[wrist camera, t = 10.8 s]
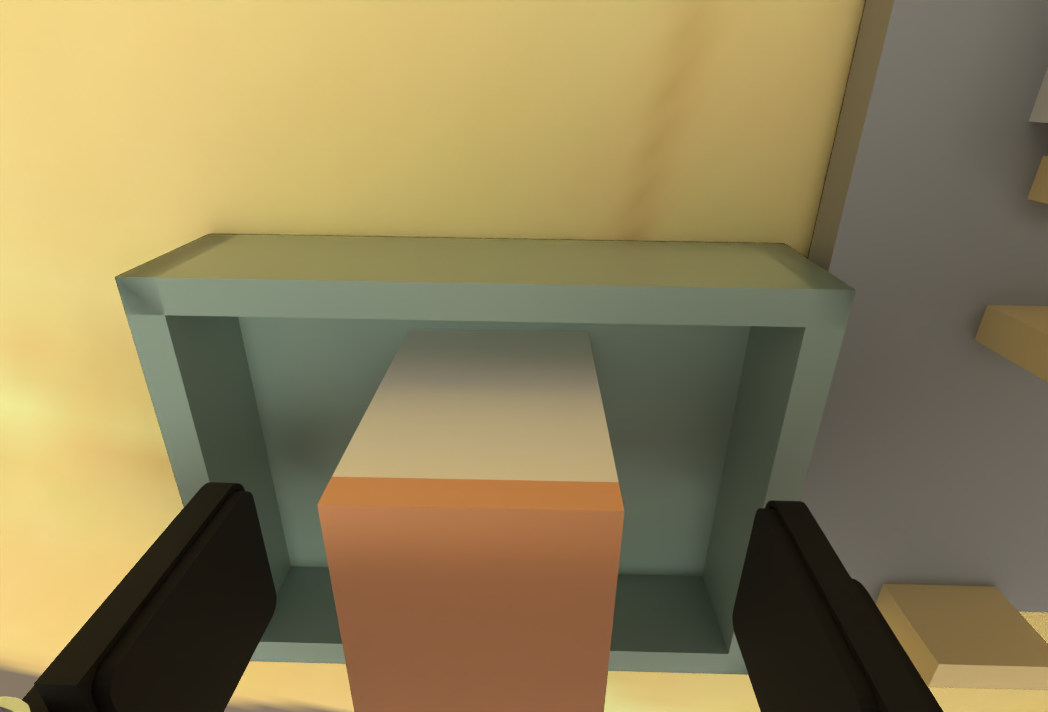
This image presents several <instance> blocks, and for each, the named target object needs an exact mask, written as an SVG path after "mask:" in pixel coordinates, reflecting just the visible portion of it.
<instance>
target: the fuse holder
mask: <svg viewBox="0 0 1048 712" xmlns="http://www.w3.org/2000/svg"><path fill="white" fill-rule="evenodd" d="M808 259H809V260H810V261H812V262H814V263H815V264H817V265H818V266H820V267H821V268H823V269H824V270H826V271H827V272H829V273H831V274H832V275H834V276H835V277H837V278H838V279H840V280H841V281H843V282H844V283H846V284H847V285H849V286H851V287H852V288H854V289H855V290H856V292H855V296H854V299H853V303H852V307H851V311H850V314H849V318H848V322H847V326H846V329H845V333H844V337H843V340H842V344H841V348H840V352H839V355H838V359H837V363H836V367H835V370H834V374H833V378H832V381H831V385H830V389H829V393H828V396H827V400H826V404H825V408H824V411H823V415H822V419H821V423H820V426H819V430H818V434H817V437H816V441H815V445H814V449H813V452H812V456H811V460H810V464H809V467H808V471H807V475H806V478H805V482H804V486H803V490H802V493H801V497H800V501H801V502H804V503H805V504H806V505H807V507H808V508H809V510H810V512H811V513H812V515H813V516H814V518H815V520H816V521H817V523H818V525H819V526H820V528H821V529H822V531H823V533H824V534H825V536H826V538H827V539H828V541H829V543H830V544H831V546H832V547H833V549H834V551H835V552H836V554H837V556H838V557H839V559H840V560H841V562H842V564H843V565H844V567H845V569H846V570H847V572H848V574H849V575H850V577H851V578H852V579H856V580H857V581H859V582H860V583H861V584H862V585H863V586H864V587H865V589H866V590H867V591H868V593H869V594H870V596H871V597H872V599H873V601H874V602H875V604H876V605H877V607H878V609H879V610H880V612H881V613H882V615H883V617H884V618H885V620H886V621H887V623H888V624H889V626H890V628H891V629H892V631H893V632H894V634H895V636H896V637H897V639H898V640H899V642H900V644H901V645H902V647H903V648H904V650H905V651H906V653H907V655H908V656H909V658H910V659H911V661H912V663H913V664H914V666H915V667H916V669H917V670H918V672H919V673H920V675H921V676H922V678H923V680H924V681H925V683H926V684H927V686H928V687H949V688H986V689H1024V690H1048V644H1047V643H1046V642H1045V640H1044V639H1043V638H1042V637H1041V636H1040V635H1039V634H1038V633H1037V632H1036V631H1035V629H1034V628H1033V627H1032V626H1031V625H1030V624H1029V623H1028V622H1027V621H1026V620H1025V619H1024V617H1023V616H1022V615H1021V614H1020V613H1019V612H1018V611H1025V612H1048V0H866V3H865V8H864V12H863V17H862V21H861V25H860V30H859V34H858V39H857V43H856V48H855V52H854V56H853V61H852V65H851V70H850V74H849V79H848V83H847V87H846V92H845V96H844V101H843V105H842V110H841V114H840V119H839V123H838V127H837V132H836V136H835V141H834V145H833V150H832V154H831V158H830V163H829V167H828V172H827V176H826V181H825V185H824V189H823V194H822V198H821V203H820V207H819V212H818V216H817V220H816V225H815V229H814V234H813V238H812V243H811V247H810V252H809V256H808Z"/></svg>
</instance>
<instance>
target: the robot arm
mask: <svg viewBox="0 0 1048 712" xmlns="http://www.w3.org/2000/svg"><path fill="white" fill-rule="evenodd" d="M276 601H277V596H276V591H275V586H274V582H273V578H272V574H271V569H270V565H269V561H268V557H267V552H266V548H265V544H264V540H263V535H262V531H261V527H260V523H259V518H258V514H257V510H256V506H255V501H254V497H253V495H252V493H251V492H249V491H245V489H244V487H243V486H242V484H239V483H220V482H209V483H206V484H204V485H203V486H202V487H201V488H200V489H199V491H198V492H197V493H196V494H195V495H194V497H193V498H192V499H191V500H190V501H189V502H188V504H187V505H186V506H185V507H184V508H183V509H182V511H181V512H180V513H179V514H178V515H177V516H176V518H175V519H174V520H173V521H172V522H171V524H170V525H169V526H168V527H167V528H166V529H165V531H164V532H163V533H162V534H161V535H160V536H159V538H158V539H157V540H156V541H155V542H154V543H153V545H152V546H151V547H150V548H149V549H148V551H147V552H146V553H145V554H144V555H143V556H142V558H141V559H140V560H139V561H138V562H137V563H136V565H135V566H134V567H133V568H132V569H131V570H130V572H129V573H128V574H127V575H126V576H125V577H124V579H123V580H122V581H121V582H120V583H119V585H118V586H117V587H116V588H115V589H114V590H113V592H112V593H111V594H110V595H109V596H108V597H107V599H106V600H105V601H104V602H103V603H102V604H101V606H100V607H99V608H98V609H97V610H96V612H95V613H94V614H93V615H92V616H91V617H90V619H89V620H88V621H87V622H86V623H85V624H84V626H83V627H82V628H81V629H80V630H79V631H78V633H77V634H76V635H75V636H74V637H73V639H72V640H71V641H70V642H69V643H68V644H67V646H66V647H65V648H64V649H63V650H62V651H61V653H60V654H59V655H58V656H57V657H56V658H55V660H54V661H53V662H52V663H51V664H50V666H49V667H48V668H47V669H46V670H45V671H44V673H43V674H42V675H41V676H40V677H39V678H38V680H37V681H36V682H35V683H34V684H35V685H34V686H33V688H32V689H31V690H30V691H29V692H28V693H27V695H26V696H25V697H24V698H23V699H22V700H21V699H19V698H14V697H7V696H3V697H0V712H224V710H225V708H226V706H227V704H228V702H229V700H230V698H231V696H232V694H233V693H234V691H235V689H236V687H237V685H238V683H239V681H240V679H241V677H242V675H243V673H244V671H245V669H246V667H247V665H248V663H249V661H250V659H251V657H252V655H253V654H254V652H255V650H256V648H257V646H258V644H259V642H260V640H261V638H262V636H263V634H264V632H265V630H266V628H267V626H268V624H269V622H270V620H271V618H272V616H273V614H274V611H275V608H276ZM732 621H733V629H734V633H735V636H736V639H737V642H738V645H739V648H740V651H741V654H742V657H743V660H744V663H745V666H746V669H747V672H748V675H749V678H750V681H751V684H752V687H753V689H754V692H755V695H756V698H757V701H758V704H759V707H760V710H761V712H943V710H942V709H941V707H940V706H939V704H938V702H937V701H936V699H935V698H934V696H933V694H932V693H931V691H930V690H929V688H928V686H927V685H926V683H925V682H924V680H923V679H922V677H921V675H920V674H919V672H918V671H917V669H916V667H915V666H914V664H913V663H912V661H911V659H910V658H909V656H908V655H907V653H906V651H905V650H904V648H903V647H902V645H901V644H900V642H899V640H898V639H897V637H896V636H895V634H894V632H893V631H892V629H891V628H890V626H889V624H888V623H887V621H886V620H885V618H884V617H883V615H882V613H881V612H880V610H879V609H878V607H877V605H876V604H875V602H874V601H873V599H872V597H871V596H870V594H869V593H868V591H867V590H866V589H865V587H864V586H863V585H862V584H861V583H860V582H859V581H857V580H856V579H852V578H851V577H850V575H849V574H848V572H847V570H846V569H845V567H844V565H843V564H842V562H841V560H840V559H839V557H838V556H837V554H836V552H835V551H834V549H833V547H832V546H831V544H830V543H829V541H828V539H827V538H826V536H825V534H824V533H823V531H822V529H821V528H820V526H819V525H818V523H817V521H816V520H815V518H814V516H813V515H812V513H811V512H810V510H809V508H808V507H807V505H806V504H805V503H804V502H801V501H776V500H771V501H769V502H768V503H767V504H766V507H765V508H759V509H758V510H757V511H756V514H755V518H754V522H753V527H752V531H751V535H750V540H749V544H748V548H747V552H746V557H745V561H744V565H743V570H742V574H741V578H740V583H739V587H738V591H737V596H736V600H735V604H734V608H733V614H732Z"/></svg>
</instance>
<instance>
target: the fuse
mask: <svg viewBox="0 0 1048 712" xmlns="http://www.w3.org/2000/svg"><path fill="white" fill-rule="evenodd" d="M317 506H318V512H319V518H320V523H321V529H322V534H323V540H324V545H325V551H326V556H327V562H328V567H329V573H330V578H331V584H332V590H333V595H334V601H335V606H336V612H337V617H338V623H339V628H340V634H341V639H342V645H343V651H344V656H345V662H346V667H347V673H348V678H349V684H350V689H351V695H352V700H353V706H354V712H604V704H605V694H606V684H607V675H608V665H609V655H610V646H611V636H612V627H613V617H614V607H615V598H616V588H617V578H618V569H619V559H620V550H621V540H622V530H623V521H624V506H623V501H622V496H621V491H620V487H619V482H618V477H617V472H616V467H615V462H614V457H613V452H612V447H611V443H610V438H609V433H608V428H607V423H606V418H605V413H604V408H603V403H602V398H601V394H600V389H599V384H598V379H597V374H596V369H595V364H594V359H593V354H592V350H591V345H590V340H589V335H588V332H582V331H518V330H455V329H409V330H408V332H407V334H406V336H405V338H404V340H403V342H402V343H401V345H400V347H399V349H398V351H397V353H396V355H395V357H394V359H393V361H392V363H391V364H390V366H389V368H388V370H387V372H386V374H385V376H384V378H383V380H382V382H381V384H380V386H379V387H378V389H377V391H376V393H375V395H374V397H373V399H372V401H371V403H370V405H369V407H368V409H367V410H366V412H365V414H364V416H363V418H362V420H361V422H360V424H359V426H358V428H357V430H356V432H355V433H354V435H353V437H352V439H351V441H350V443H349V445H348V447H347V449H346V451H345V453H344V454H343V456H342V458H341V460H340V462H339V464H338V466H337V468H336V470H335V472H334V474H333V476H332V477H331V479H330V481H329V483H328V485H327V487H326V489H325V491H324V493H323V495H322V497H321V499H320V500H319V502H318V504H317Z"/></svg>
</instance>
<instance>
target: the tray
mask: <svg viewBox="0 0 1048 712" xmlns="http://www.w3.org/2000/svg"><path fill="white" fill-rule="evenodd" d="M115 280H116V283H117V286H118V290H119V293H120V296H121V300H122V303H123V306H124V310H125V313H126V316H127V320H128V323H129V326H130V330H131V333H132V336H133V340H134V343H135V346H136V350H137V353H138V356H139V360H140V363H141V366H142V370H143V373H144V376H145V380H146V383H147V386H148V390H149V393H150V396H151V400H152V403H153V406H154V410H155V413H156V416H157V420H158V423H159V426H160V430H161V433H162V436H163V440H164V443H165V446H166V450H167V453H168V456H169V460H170V463H171V466H172V470H173V473H174V476H175V480H176V483H177V486H178V490H179V493H180V496H181V500H182V503H183V506H184V507H185V506H186V505H187V504H188V502H189V501H190V500H191V499H192V498H193V497H194V495H195V494H196V493H197V492H198V491H199V489H200V488H201V487H202V486H203V485H204V484H206V483H209V482H220V483H239V484H242V486H243V487H244V489H245V491H249V492H251V493H252V495H253V497H254V501H255V506H256V510H257V514H258V518H259V523H260V527H261V531H262V535H263V540H264V544H265V548H266V552H267V557H268V561H269V565H270V569H271V574H272V578H273V582H274V586H275V591H276V596H277V601H276V608H275V611H274V614H273V616H272V618H271V620H270V622H269V624H268V626H267V628H266V630H265V632H264V634H263V636H262V638H261V640H260V642H259V644H258V646H257V648H256V650H255V652H254V654H253V655H252V657H251V659H250V661H263V662H301V663H338V664H346V662H345V656H344V651H343V645H342V639H341V634H340V628H339V623H338V617H337V612H336V606H335V601H334V595H333V590H332V584H331V578H330V573H329V567H328V562H327V556H326V551H325V545H324V540H323V534H322V529H321V523H320V518H319V512H318V506H317V504H318V502H319V500H320V499H321V497H322V495H323V493H324V491H325V489H326V487H327V485H328V483H329V481H330V479H331V477H332V476H333V474H334V472H335V470H336V468H337V466H338V464H339V462H340V460H341V458H342V456H343V454H344V453H345V451H346V449H347V447H348V445H349V443H350V441H351V439H352V437H353V435H354V433H355V432H356V430H357V428H358V426H359V424H360V422H361V420H362V418H363V416H364V414H365V412H366V410H367V409H368V407H369V405H370V403H371V401H372V399H373V397H374V395H375V393H376V391H377V389H378V387H379V386H380V384H381V382H382V380H383V378H384V376H385V374H386V372H387V370H388V368H389V366H390V364H391V363H392V361H393V359H394V357H395V355H396V353H397V351H398V349H399V347H400V345H401V343H402V342H403V340H404V338H405V336H406V334H407V332H408V330H409V329H455V330H518V331H582V332H588V335H589V340H590V345H591V350H592V354H593V359H594V364H595V369H596V374H597V379H598V384H599V389H600V394H601V398H602V403H603V408H604V413H605V418H606V423H607V428H608V433H609V438H610V443H611V447H612V452H613V457H614V462H615V467H616V472H617V477H618V482H619V487H620V491H621V496H622V501H623V506H624V521H623V530H622V540H621V550H620V559H619V569H618V578H617V588H616V598H615V607H614V617H613V627H612V636H611V646H610V655H609V665H608V671H637V672H675V673H712V674H748V672H747V669H746V666H745V663H744V660H743V657H742V654H741V651H740V648H739V645H738V642H737V639H736V636H735V633H734V629H733V621H732V614H733V608H734V604H735V600H736V596H737V591H738V587H739V583H740V578H741V574H742V570H743V565H744V561H745V557H746V552H747V548H748V544H749V540H750V535H751V531H752V527H753V522H754V518H755V514H756V511H757V510H758V509H759V508H765V507H766V504H767V503H768V502H769V501H771V500H776V501H800V497H801V493H802V490H803V486H804V482H805V478H806V475H807V471H808V467H809V464H810V460H811V456H812V452H813V449H814V445H815V441H816V437H817V434H818V430H819V426H820V423H821V419H822V415H823V411H824V408H825V404H826V400H827V396H828V393H829V389H830V385H831V381H832V378H833V374H834V370H835V367H836V363H837V359H838V355H839V352H840V348H841V344H842V340H843V337H844V333H845V329H846V326H847V322H848V318H849V314H850V311H851V307H852V303H853V299H854V296H855V292H856V290H855V289H854V288H852V287H851V286H849V285H847V284H846V283H844V282H843V281H841V280H840V279H838V278H837V277H835V276H834V275H832V274H831V273H829V272H827V271H826V270H824V269H823V268H821V267H820V266H818V265H817V264H815V263H814V262H812V261H810V260H809V259H807V258H806V257H804V256H803V255H801V254H800V253H798V252H797V251H795V250H793V249H792V248H790V247H789V246H787V245H786V244H784V243H733V242H673V241H613V240H553V239H493V238H433V237H372V236H312V235H252V234H207V235H205V236H203V237H201V238H199V239H196V240H194V241H192V242H190V243H188V244H186V245H183V246H181V247H179V248H177V249H175V250H172V251H170V252H168V253H166V254H164V255H161V256H159V257H157V258H155V259H153V260H151V261H148V262H146V263H144V264H142V265H140V266H137V267H135V268H133V269H131V270H129V271H127V272H124V273H122V274H120V275H118V276H116V277H115Z"/></svg>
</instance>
